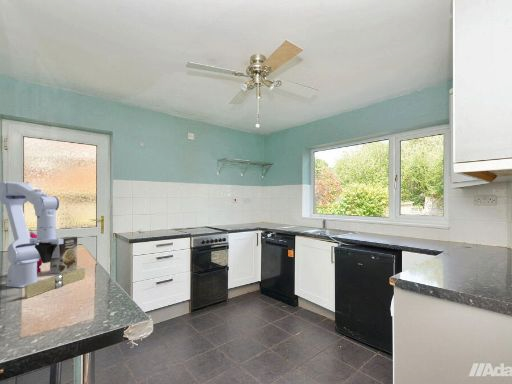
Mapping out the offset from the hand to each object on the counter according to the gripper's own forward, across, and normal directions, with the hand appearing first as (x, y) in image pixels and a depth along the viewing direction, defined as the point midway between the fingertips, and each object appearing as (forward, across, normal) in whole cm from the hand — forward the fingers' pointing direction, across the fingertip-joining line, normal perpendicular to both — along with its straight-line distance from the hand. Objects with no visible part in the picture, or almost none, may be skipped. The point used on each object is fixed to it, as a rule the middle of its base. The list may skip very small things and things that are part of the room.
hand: (46, 262), depth 101 cm
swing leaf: (+10, +2, -2) cm, 11 cm away
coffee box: (+10, -18, +22) cm, 30 cm away
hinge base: (+10, +2, +8) cm, 13 cm away
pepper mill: (+10, -30, +16) cm, 36 cm away
